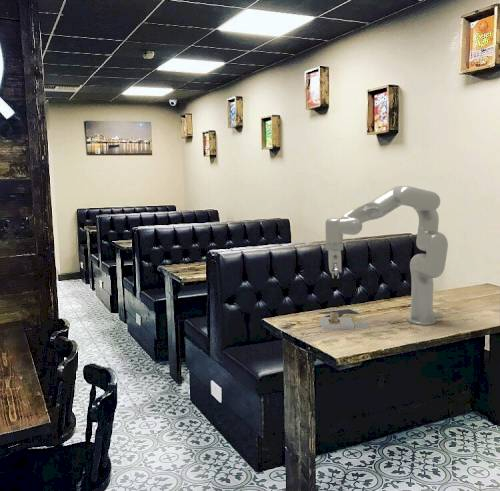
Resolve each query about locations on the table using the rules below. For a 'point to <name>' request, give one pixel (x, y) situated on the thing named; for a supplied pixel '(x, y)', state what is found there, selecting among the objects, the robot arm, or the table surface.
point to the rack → (340, 323)
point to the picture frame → (339, 312)
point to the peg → (333, 317)
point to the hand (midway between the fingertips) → (334, 284)
